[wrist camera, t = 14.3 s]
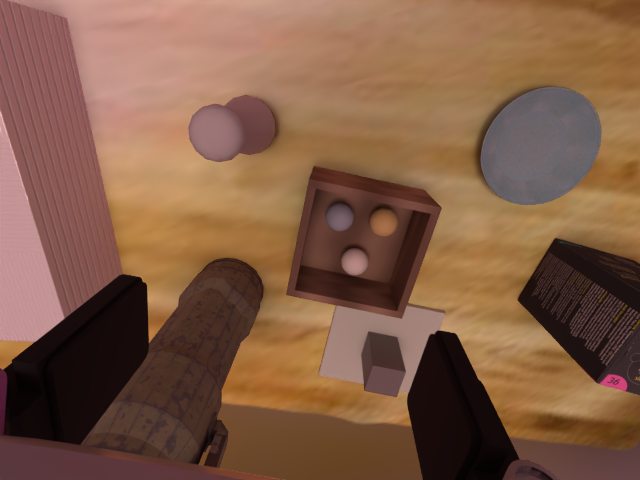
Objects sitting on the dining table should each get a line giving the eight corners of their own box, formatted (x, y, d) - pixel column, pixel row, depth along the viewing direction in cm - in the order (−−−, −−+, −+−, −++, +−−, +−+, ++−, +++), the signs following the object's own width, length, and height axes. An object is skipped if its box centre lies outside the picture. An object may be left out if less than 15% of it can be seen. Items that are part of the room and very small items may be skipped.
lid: (443, 308, 46) (462, 346, 39) (411, 387, 51) (423, 433, 44) (340, 287, 46) (340, 321, 38) (319, 369, 51) (315, 412, 44)
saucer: (496, 77, 35) (506, 76, 33) (607, 99, 36) (625, 99, 33) (458, 189, 40) (465, 194, 38) (558, 207, 40) (570, 213, 38)
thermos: (273, 321, 47) (132, 798, 15) (188, 310, 47) (-139, 762, 15) (278, 263, 44) (110, 715, 12) (186, 251, 44) (-237, 669, 12)
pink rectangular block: (-32, 18, 36) (-176, -14, 26) (68, 19, 35) (-39, -14, 25) (52, 289, 48) (-24, 339, 38) (128, 292, 47) (71, 343, 37)
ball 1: (356, 202, 40) (357, 210, 37) (349, 228, 41) (350, 237, 38) (329, 196, 40) (328, 204, 37) (323, 222, 41) (322, 231, 38)
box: (424, 190, 40) (441, 207, 33) (392, 287, 44) (401, 318, 38) (314, 166, 39) (309, 178, 33) (293, 266, 44) (286, 294, 38)
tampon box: (515, 299, 44) (593, 387, 31) (553, 235, 41) (660, 301, 27) (593, 322, 45) (703, 417, 31) (636, 261, 42) (781, 338, 28)
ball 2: (370, 247, 42) (372, 258, 39) (363, 270, 43) (365, 282, 40) (344, 241, 42) (345, 252, 39) (338, 264, 43) (338, 277, 40)
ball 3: (399, 207, 40) (404, 216, 37) (391, 233, 41) (395, 243, 38) (372, 201, 40) (375, 209, 37) (365, 227, 41) (367, 237, 38)
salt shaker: (271, 90, 37) (239, 85, 24) (284, 145, 39) (260, 165, 27) (219, 102, 37) (163, 102, 25) (234, 155, 39) (189, 179, 27)
